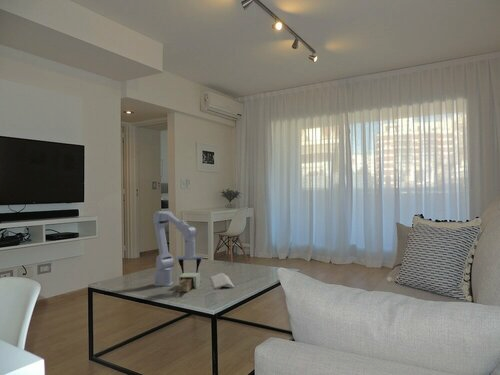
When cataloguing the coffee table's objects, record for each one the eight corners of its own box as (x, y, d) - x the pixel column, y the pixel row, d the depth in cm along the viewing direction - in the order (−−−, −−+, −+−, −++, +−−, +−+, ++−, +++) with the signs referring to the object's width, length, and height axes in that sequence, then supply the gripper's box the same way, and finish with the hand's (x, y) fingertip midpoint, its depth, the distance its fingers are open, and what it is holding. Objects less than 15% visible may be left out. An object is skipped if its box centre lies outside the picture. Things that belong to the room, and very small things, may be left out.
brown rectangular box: (179, 291, 194) (178, 282, 194) (185, 285, 206) (185, 277, 206) (188, 291, 194) (188, 282, 194) (193, 286, 206) (193, 277, 206)
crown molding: (209, 278, 228) (209, 273, 228) (228, 277, 231) (228, 272, 231) (214, 290, 200) (214, 283, 200) (235, 288, 202) (235, 282, 202)
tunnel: (179, 288, 202) (178, 276, 203) (183, 284, 212) (183, 272, 212) (196, 288, 201) (196, 276, 202) (200, 284, 211) (200, 272, 212)
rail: (175, 297, 184) (175, 297, 184) (190, 283, 214) (190, 283, 214) (181, 297, 184) (181, 297, 184) (195, 283, 214) (195, 283, 214)
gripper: (176, 249, 195) (176, 274, 194) (202, 249, 197) (203, 273, 196) (177, 248, 202) (177, 272, 201) (202, 247, 204) (203, 271, 203)
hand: (190, 272), depth 199 cm, fingers open, 7 cm apart
